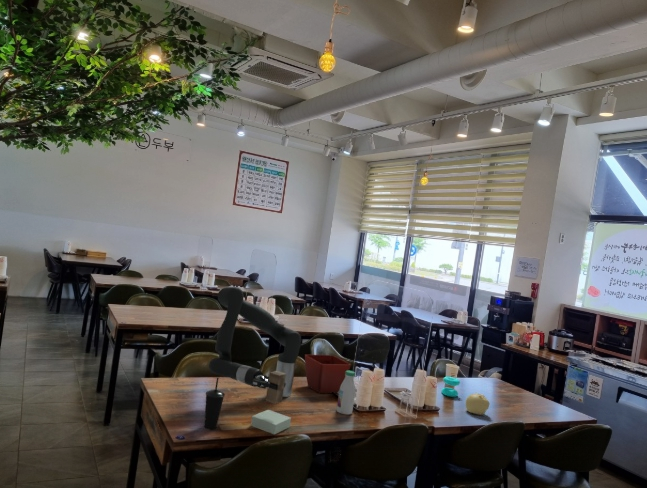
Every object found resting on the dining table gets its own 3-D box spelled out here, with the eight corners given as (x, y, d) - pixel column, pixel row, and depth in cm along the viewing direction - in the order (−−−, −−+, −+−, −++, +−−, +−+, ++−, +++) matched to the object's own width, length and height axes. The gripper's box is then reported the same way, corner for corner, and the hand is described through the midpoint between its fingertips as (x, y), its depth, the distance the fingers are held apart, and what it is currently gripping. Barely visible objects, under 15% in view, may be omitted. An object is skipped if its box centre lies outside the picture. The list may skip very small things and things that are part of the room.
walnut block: (272, 398, 218) (276, 370, 218) (281, 401, 216) (286, 373, 216) (265, 400, 214) (269, 372, 214) (275, 404, 212) (279, 375, 211)
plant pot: (328, 383, 292) (333, 354, 292) (346, 395, 276) (351, 364, 276) (299, 384, 282) (304, 354, 282) (316, 396, 266) (321, 364, 266)
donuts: (449, 380, 302) (440, 375, 311) (446, 397, 302) (437, 391, 311) (463, 381, 305) (454, 376, 314) (461, 398, 305) (451, 392, 315)
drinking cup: (202, 422, 208) (209, 374, 208) (220, 424, 209) (228, 376, 209) (199, 429, 201) (206, 379, 200) (218, 431, 201) (226, 381, 201)
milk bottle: (353, 411, 250) (360, 371, 250) (349, 416, 243) (355, 375, 242) (339, 407, 252) (345, 368, 252) (334, 412, 245) (340, 371, 245)
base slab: (266, 418, 223) (268, 409, 223) (289, 427, 218) (291, 417, 218) (250, 425, 213) (252, 416, 212) (274, 434, 207) (275, 424, 207)
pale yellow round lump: (490, 417, 275) (493, 398, 275) (470, 415, 273) (473, 396, 273) (480, 410, 286) (483, 391, 286) (460, 408, 284) (463, 389, 284)
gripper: (240, 369, 215) (273, 380, 207) (259, 364, 228) (291, 374, 220) (237, 387, 215) (270, 398, 207) (257, 381, 228) (289, 391, 220)
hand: (281, 386), depth 214 cm, fingers closed on walnut block, 5 cm apart
